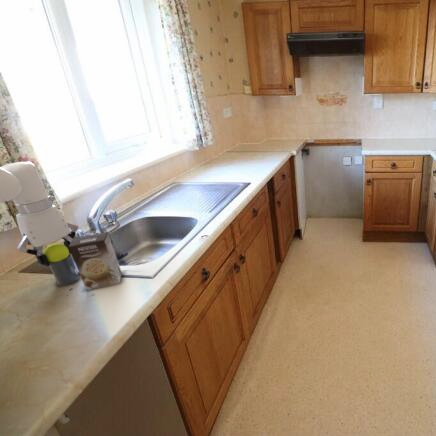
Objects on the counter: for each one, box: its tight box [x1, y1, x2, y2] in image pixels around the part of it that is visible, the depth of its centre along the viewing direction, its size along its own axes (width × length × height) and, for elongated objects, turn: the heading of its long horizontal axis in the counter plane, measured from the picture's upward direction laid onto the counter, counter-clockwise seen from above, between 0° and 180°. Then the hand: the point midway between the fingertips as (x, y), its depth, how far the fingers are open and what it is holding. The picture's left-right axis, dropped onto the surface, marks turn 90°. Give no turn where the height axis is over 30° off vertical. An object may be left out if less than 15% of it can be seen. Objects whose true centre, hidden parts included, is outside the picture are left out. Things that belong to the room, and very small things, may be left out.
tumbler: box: [49, 253, 81, 287], centre depth 101 cm, size 6×6×9 cm
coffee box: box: [69, 231, 123, 291], centre depth 98 cm, size 9×6×16 cm
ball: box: [43, 242, 70, 263], centre depth 99 cm, size 6×6×6 cm
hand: (59, 258), depth 99 cm, fingers open, 6 cm apart
